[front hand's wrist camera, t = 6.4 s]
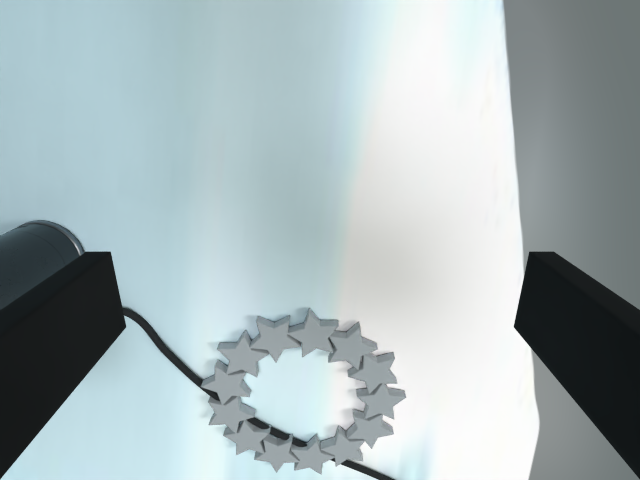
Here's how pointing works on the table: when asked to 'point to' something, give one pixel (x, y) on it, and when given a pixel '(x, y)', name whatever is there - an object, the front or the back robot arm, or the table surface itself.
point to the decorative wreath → (312, 337)
